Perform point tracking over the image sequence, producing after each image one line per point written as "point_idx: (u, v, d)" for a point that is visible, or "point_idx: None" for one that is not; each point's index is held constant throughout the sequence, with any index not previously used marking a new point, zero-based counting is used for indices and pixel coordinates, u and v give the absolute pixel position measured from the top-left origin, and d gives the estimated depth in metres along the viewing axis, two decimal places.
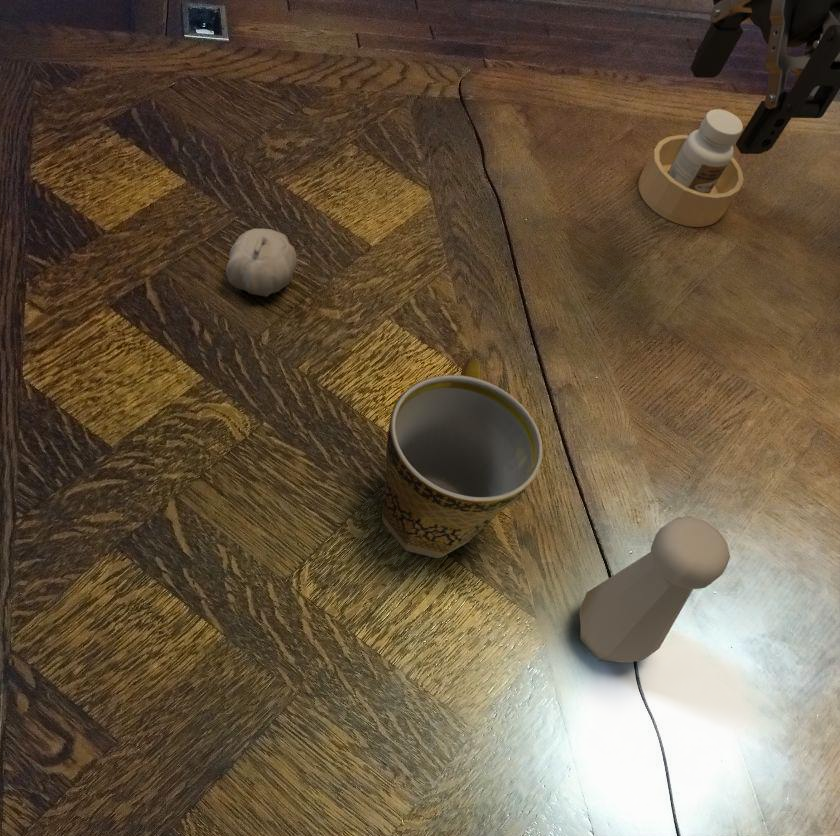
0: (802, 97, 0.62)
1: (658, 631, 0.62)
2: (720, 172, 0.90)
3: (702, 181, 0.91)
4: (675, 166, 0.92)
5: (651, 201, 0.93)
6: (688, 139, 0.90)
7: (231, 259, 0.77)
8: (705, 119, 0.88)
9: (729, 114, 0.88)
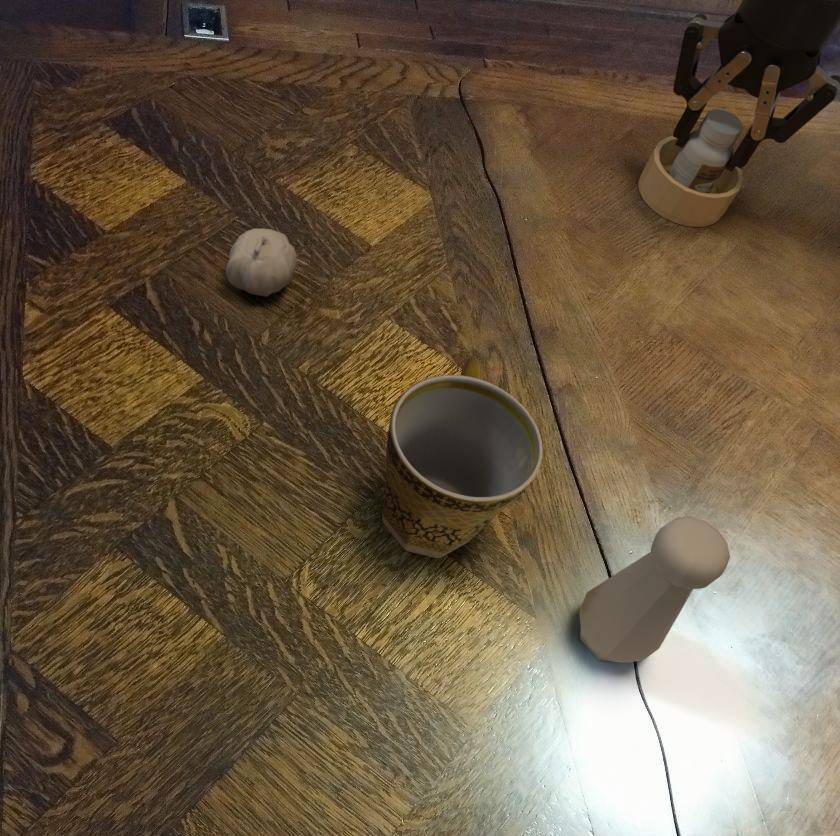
0: (796, 131, 0.84)
1: (658, 631, 0.62)
2: (720, 172, 0.90)
3: (702, 182, 0.91)
4: (675, 166, 0.92)
5: (651, 201, 0.93)
6: (688, 139, 0.90)
7: (231, 259, 0.77)
8: (705, 119, 0.88)
9: (729, 115, 0.88)
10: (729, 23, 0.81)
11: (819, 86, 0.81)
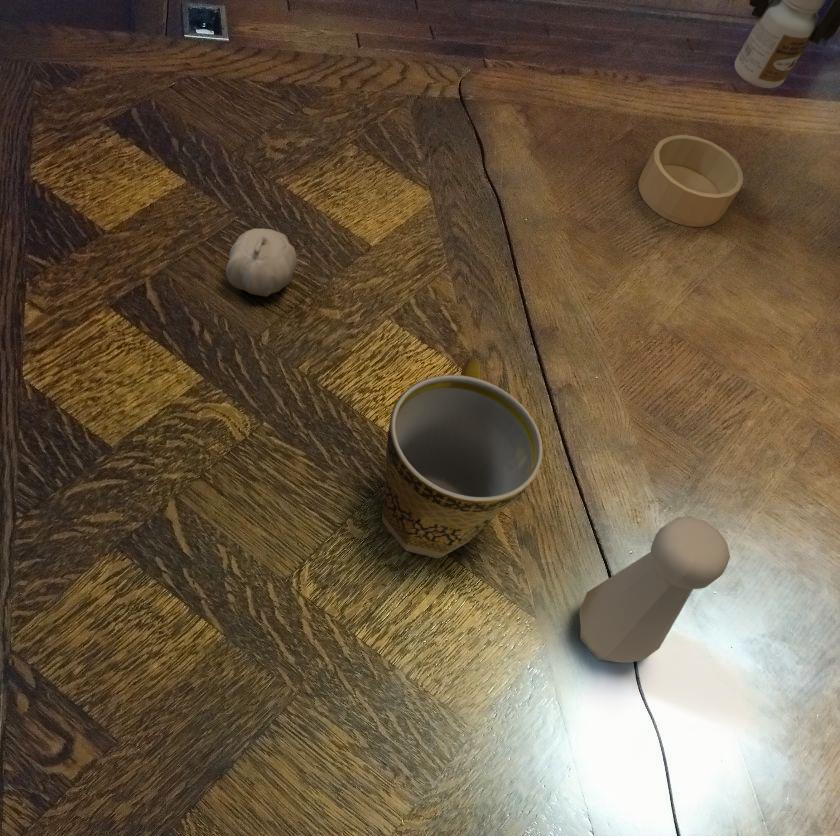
0: None
1: (658, 631, 0.62)
2: (803, 45, 0.79)
3: (782, 57, 0.79)
4: (750, 41, 0.80)
5: (651, 201, 0.93)
6: (767, 7, 0.78)
7: (231, 259, 0.77)
8: None
9: None
10: None
11: None
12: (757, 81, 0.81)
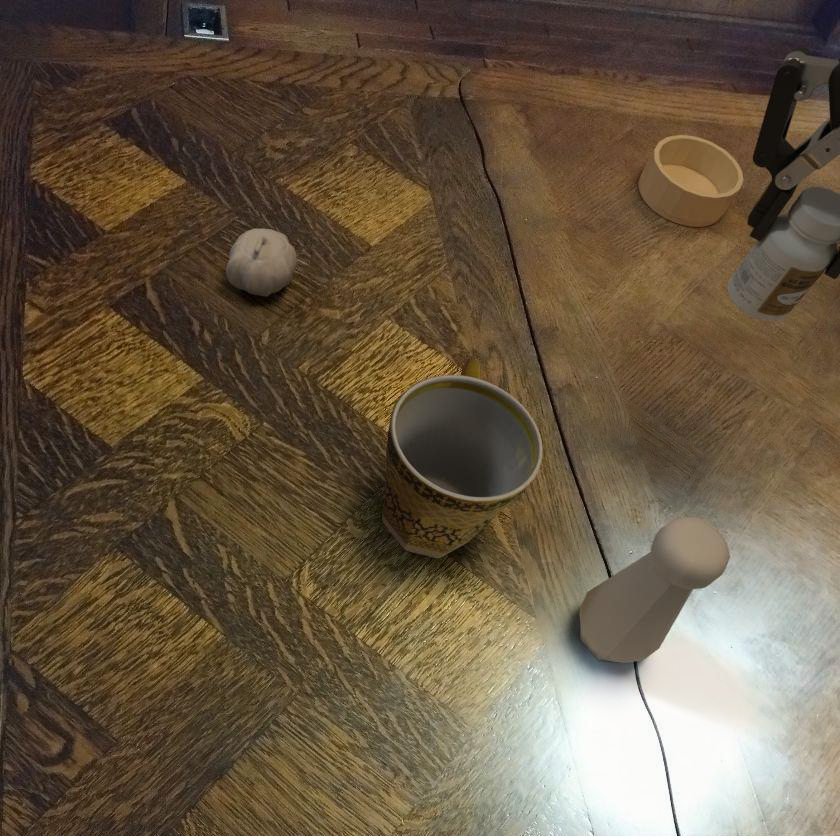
0: None
1: (658, 631, 0.62)
2: (816, 278, 0.61)
3: (789, 291, 0.61)
4: (748, 266, 0.62)
5: (651, 201, 0.93)
6: (770, 229, 0.61)
7: (231, 259, 0.77)
8: (799, 202, 0.58)
9: (833, 195, 0.59)
10: None
11: None
12: (756, 314, 0.63)
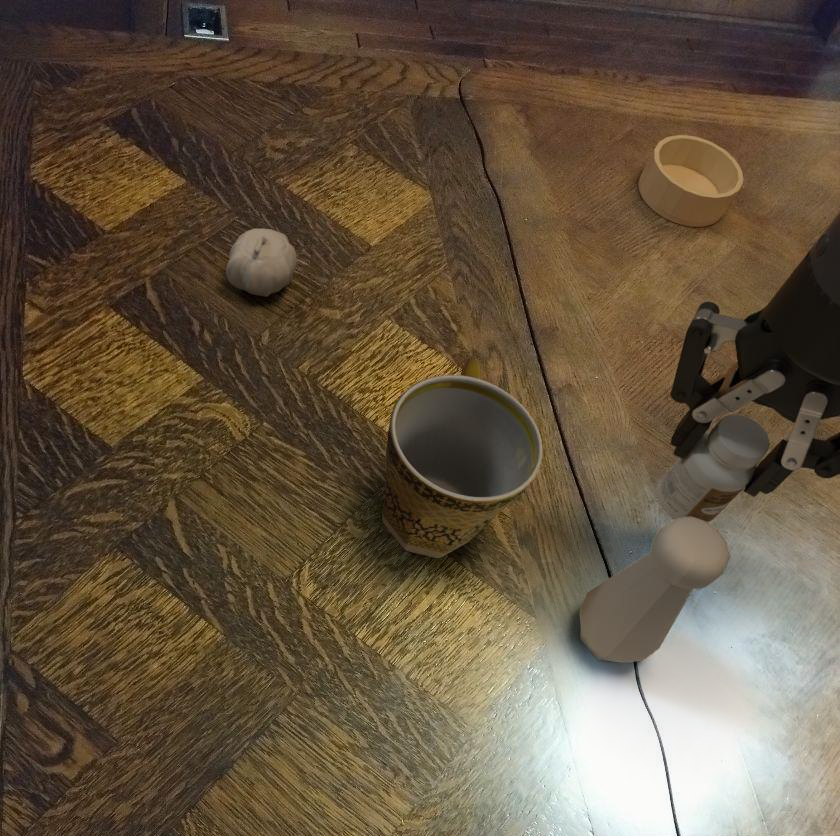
0: None
1: (658, 631, 0.62)
2: (737, 494, 0.64)
3: (712, 505, 0.65)
4: (673, 479, 0.66)
5: (651, 201, 0.93)
6: (692, 450, 0.64)
7: (231, 259, 0.77)
8: (716, 432, 0.62)
9: (749, 423, 0.62)
10: (752, 329, 0.55)
11: None
12: None
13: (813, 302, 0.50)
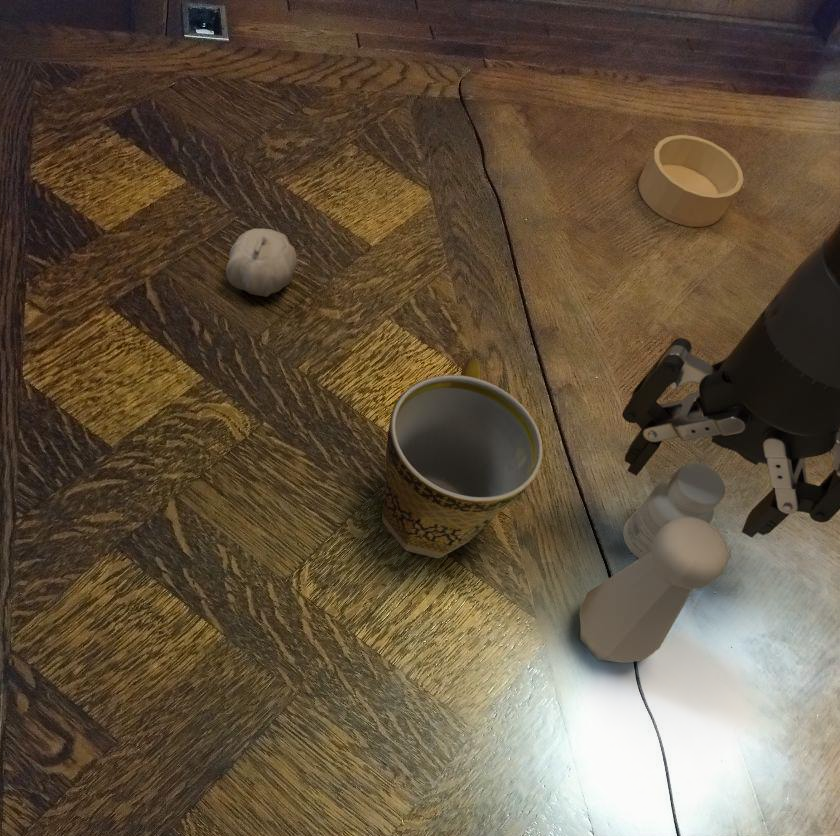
0: (839, 509, 0.61)
1: (658, 631, 0.62)
2: None
3: None
4: (638, 521, 0.70)
5: (651, 201, 0.93)
6: (654, 495, 0.68)
7: (231, 259, 0.77)
8: (676, 480, 0.66)
9: (707, 471, 0.67)
10: (714, 378, 0.59)
11: None
12: None
13: (767, 358, 0.54)
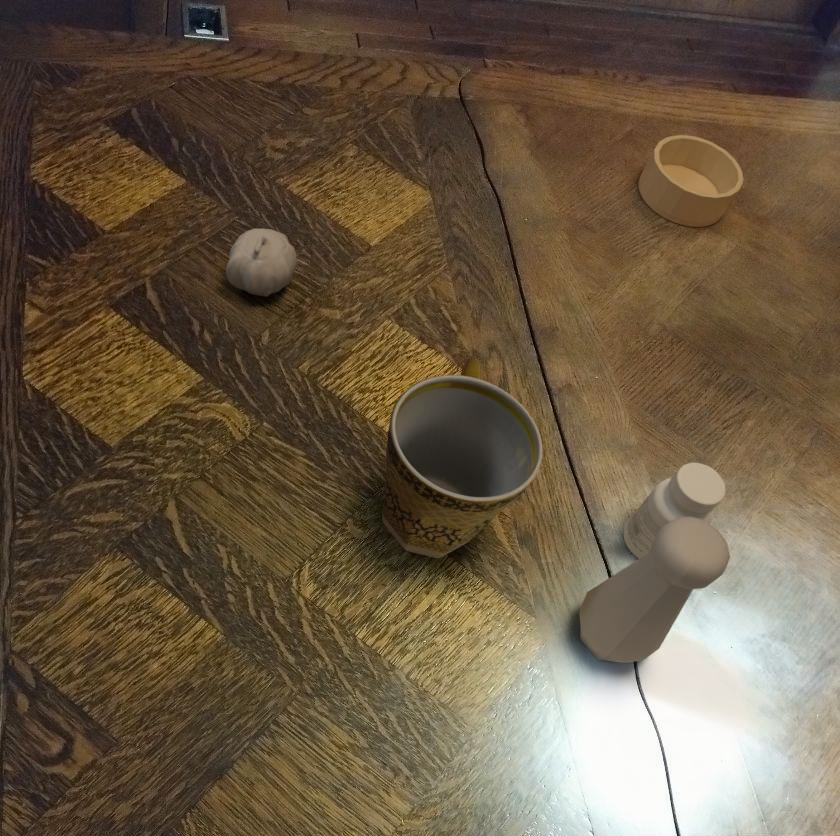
0: None
1: (658, 631, 0.62)
2: None
3: None
4: (638, 521, 0.70)
5: (651, 201, 0.93)
6: (654, 495, 0.68)
7: (231, 259, 0.77)
8: (676, 480, 0.66)
9: (707, 471, 0.67)
10: None
11: None
12: None
13: None
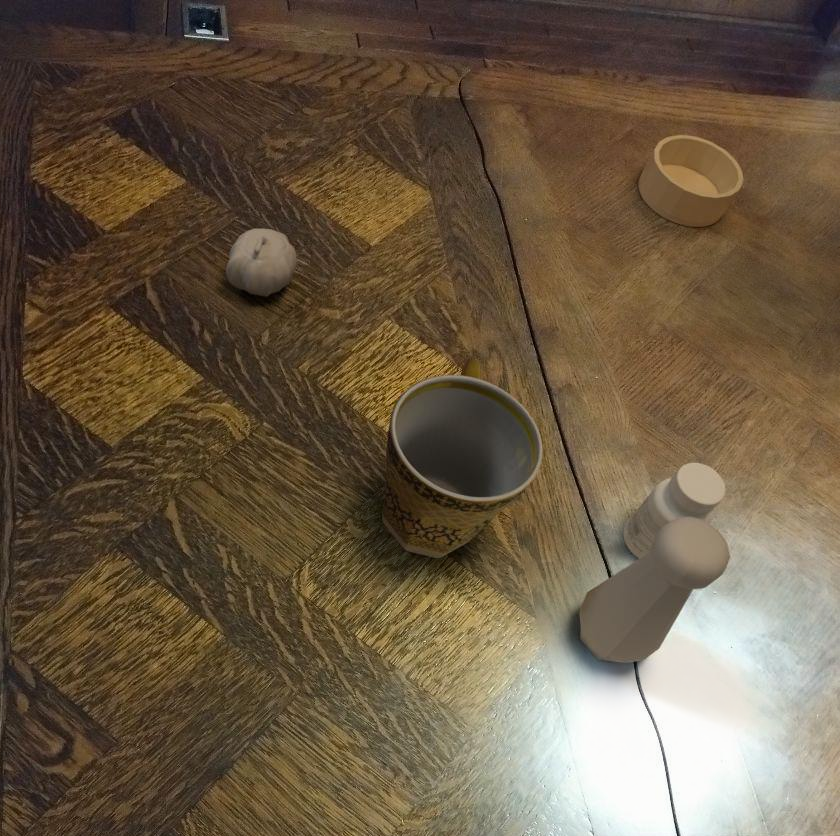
0: None
1: (658, 631, 0.62)
2: None
3: None
4: (638, 521, 0.70)
5: (651, 201, 0.93)
6: (654, 495, 0.68)
7: (231, 259, 0.77)
8: (676, 480, 0.66)
9: (707, 471, 0.67)
10: None
11: None
12: None
13: None
